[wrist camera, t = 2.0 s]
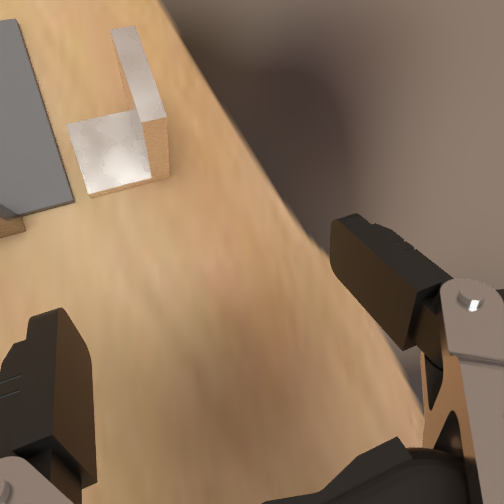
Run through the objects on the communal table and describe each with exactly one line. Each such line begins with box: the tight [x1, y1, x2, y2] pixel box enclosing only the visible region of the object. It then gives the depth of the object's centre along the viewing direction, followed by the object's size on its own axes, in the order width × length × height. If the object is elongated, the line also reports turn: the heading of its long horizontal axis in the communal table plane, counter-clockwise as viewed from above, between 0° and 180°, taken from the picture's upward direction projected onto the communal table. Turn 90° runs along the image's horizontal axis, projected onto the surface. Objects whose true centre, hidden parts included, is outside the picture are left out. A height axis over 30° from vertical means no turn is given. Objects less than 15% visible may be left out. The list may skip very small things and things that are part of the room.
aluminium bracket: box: [66, 26, 170, 198], centre depth 26 cm, size 6×6×10 cm
